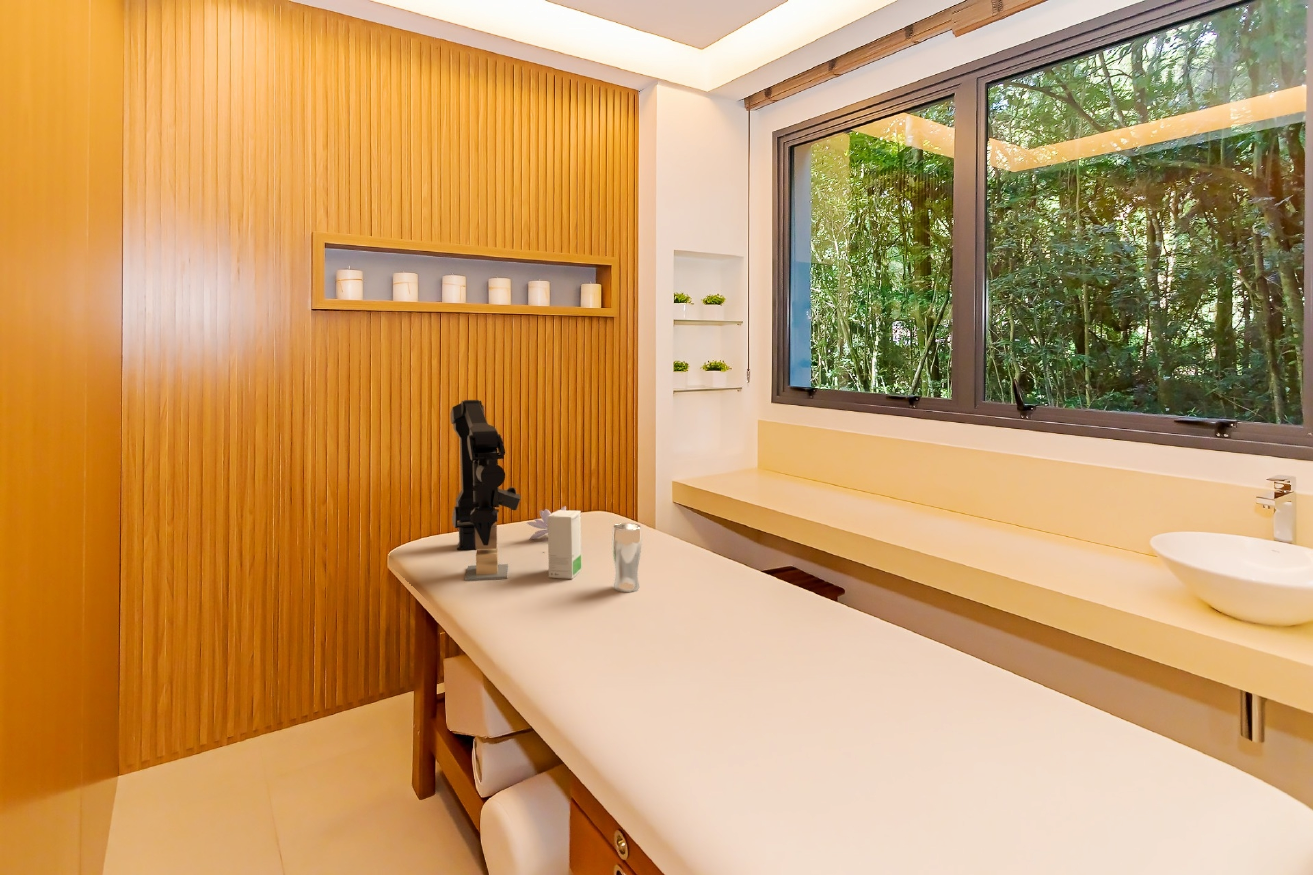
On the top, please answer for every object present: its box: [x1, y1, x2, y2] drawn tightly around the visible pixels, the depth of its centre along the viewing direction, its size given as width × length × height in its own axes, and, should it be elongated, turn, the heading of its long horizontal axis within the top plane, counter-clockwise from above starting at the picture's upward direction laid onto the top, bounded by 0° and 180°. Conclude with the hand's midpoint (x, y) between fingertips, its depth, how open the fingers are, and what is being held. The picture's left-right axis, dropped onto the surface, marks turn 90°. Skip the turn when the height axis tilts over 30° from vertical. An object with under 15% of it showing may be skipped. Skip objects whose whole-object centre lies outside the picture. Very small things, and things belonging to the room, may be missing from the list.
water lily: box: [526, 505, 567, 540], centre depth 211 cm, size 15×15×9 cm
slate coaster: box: [464, 563, 509, 582], centre depth 181 cm, size 10×10×1 cm
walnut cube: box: [475, 523, 498, 550], centre depth 180 cm, size 5×5×5 cm
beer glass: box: [611, 522, 643, 593], centre depth 171 cm, size 7×7×15 cm
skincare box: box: [547, 509, 583, 580], centre depth 181 cm, size 8×7×16 cm
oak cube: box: [475, 548, 499, 575], centre depth 181 cm, size 5×5×5 cm
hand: (486, 542), depth 180 cm, fingers closed on walnut cube, 5 cm apart
